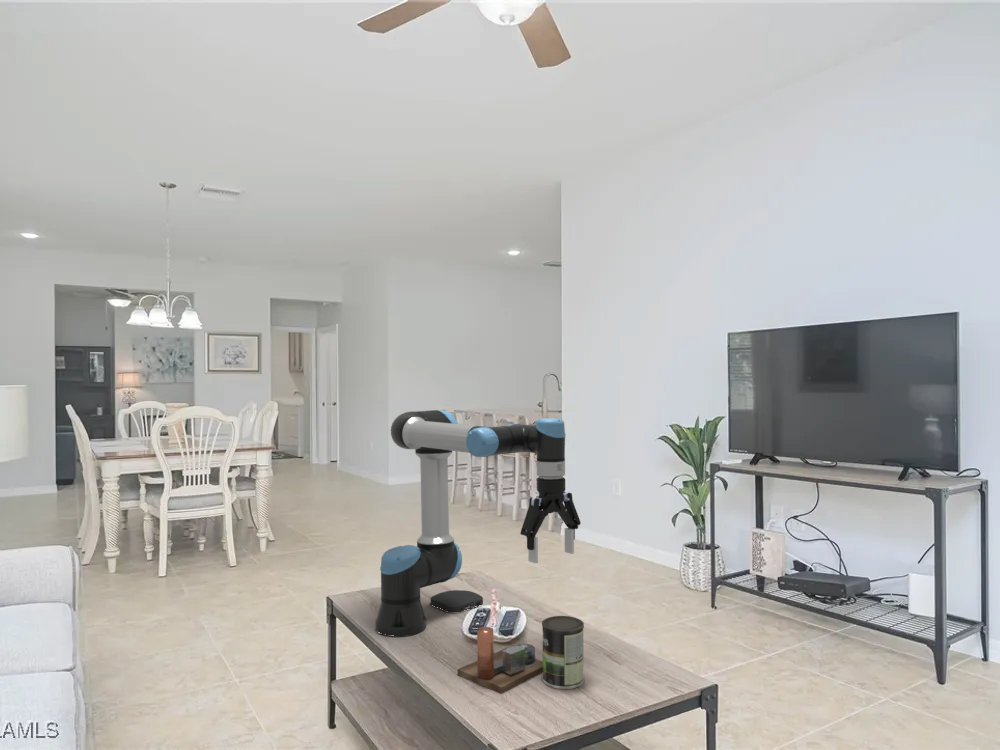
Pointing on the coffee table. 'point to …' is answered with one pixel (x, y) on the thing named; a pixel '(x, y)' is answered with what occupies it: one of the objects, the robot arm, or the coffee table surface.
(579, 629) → the coffee can
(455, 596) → the media streaming box
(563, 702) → the coffee table surface
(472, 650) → the coffee table surface
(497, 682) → the board
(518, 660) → the lever
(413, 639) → the coffee table surface
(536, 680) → the coffee table surface
